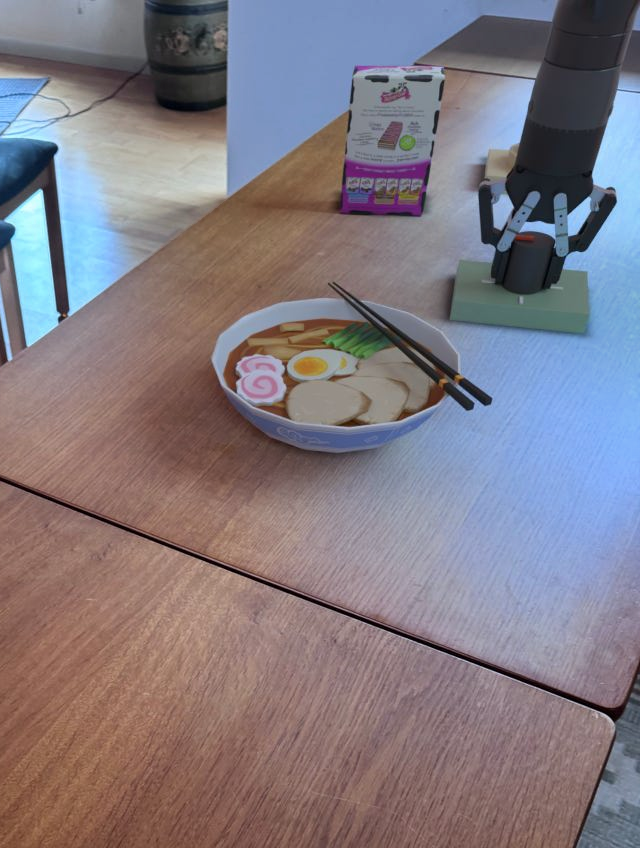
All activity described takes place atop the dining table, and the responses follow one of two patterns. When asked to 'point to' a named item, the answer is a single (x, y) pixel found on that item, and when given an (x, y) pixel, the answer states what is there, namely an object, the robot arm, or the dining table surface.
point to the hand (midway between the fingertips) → (522, 282)
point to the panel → (520, 301)
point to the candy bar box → (390, 139)
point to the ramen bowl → (338, 372)
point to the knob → (528, 262)
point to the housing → (500, 163)
